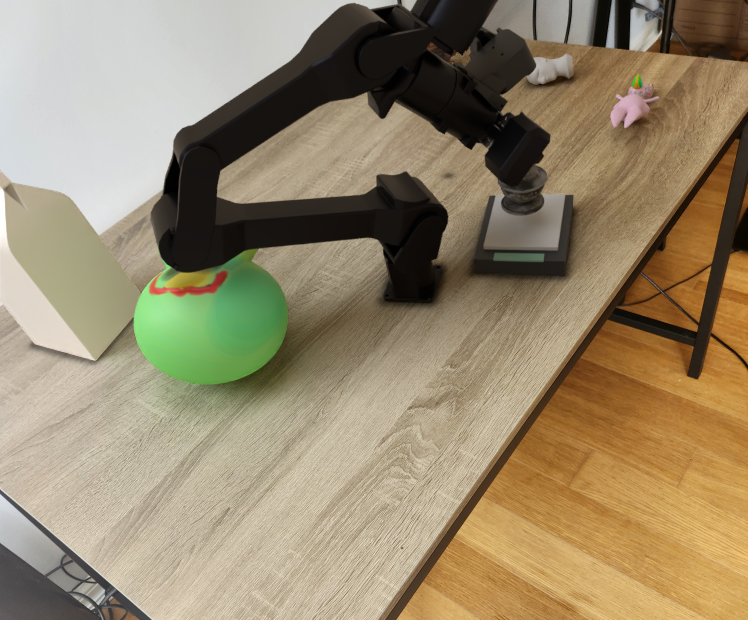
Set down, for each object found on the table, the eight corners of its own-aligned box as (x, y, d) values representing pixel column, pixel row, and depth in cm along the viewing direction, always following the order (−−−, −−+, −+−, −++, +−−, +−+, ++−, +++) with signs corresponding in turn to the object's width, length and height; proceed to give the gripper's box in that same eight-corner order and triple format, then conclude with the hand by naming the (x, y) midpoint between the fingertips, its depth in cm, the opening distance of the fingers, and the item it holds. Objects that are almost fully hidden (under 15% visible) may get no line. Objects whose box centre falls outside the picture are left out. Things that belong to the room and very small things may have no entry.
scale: (564, 276, 79) (565, 257, 77) (474, 274, 82) (472, 255, 80) (573, 209, 86) (573, 190, 84) (490, 209, 90) (489, 191, 88)
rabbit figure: (621, 100, 103) (596, 137, 94) (626, 60, 99) (600, 95, 90) (663, 102, 100) (641, 141, 91) (670, 61, 96) (648, 97, 87)
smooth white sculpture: (523, 93, 110) (529, 70, 111) (571, 92, 107) (577, 68, 108) (519, 73, 106) (526, 49, 108) (569, 72, 103) (576, 47, 104)
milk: (147, 301, 92) (40, 135, 73) (95, 361, 86) (-36, 197, 67) (87, 288, 97) (-28, 130, 78) (34, 344, 91) (-105, 187, 72)
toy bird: (146, 409, 78) (82, 321, 68) (192, 313, 89) (143, 224, 78) (285, 407, 74) (239, 313, 63) (316, 306, 84) (281, 211, 74)
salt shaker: (524, 183, 83) (524, 92, 74) (557, 201, 79) (560, 109, 70) (488, 203, 82) (483, 113, 73) (519, 223, 78) (518, 131, 69)
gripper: (533, 48, 56) (629, 123, 66) (443, -12, 69) (535, 59, 78) (458, 159, 62) (557, 214, 71) (387, 85, 74) (480, 140, 83)
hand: (532, 151), depth 76 cm, fingers closed on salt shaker, 3 cm apart
